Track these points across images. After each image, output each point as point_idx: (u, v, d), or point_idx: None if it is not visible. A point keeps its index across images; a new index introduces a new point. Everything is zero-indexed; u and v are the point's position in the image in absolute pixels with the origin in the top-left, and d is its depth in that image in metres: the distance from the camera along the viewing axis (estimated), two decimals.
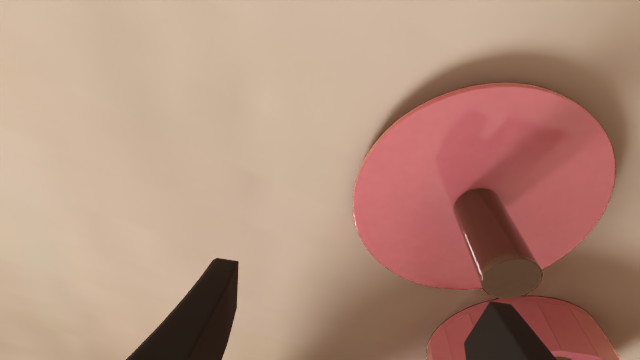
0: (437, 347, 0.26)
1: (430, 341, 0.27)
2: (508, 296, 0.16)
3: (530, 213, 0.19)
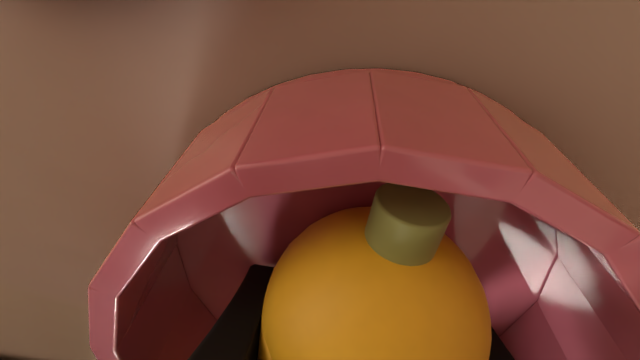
0: None
1: None
2: None
3: None
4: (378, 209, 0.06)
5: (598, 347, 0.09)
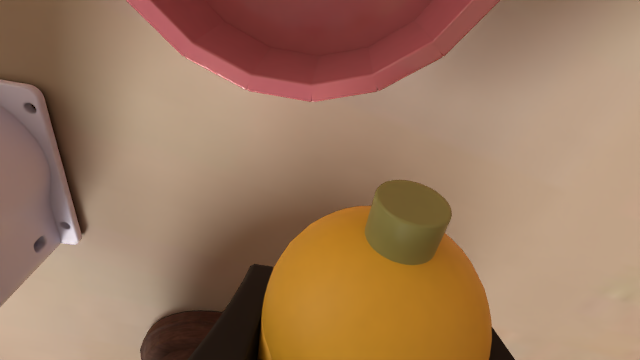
0: None
1: None
2: None
3: None
4: (378, 208, 0.06)
5: None
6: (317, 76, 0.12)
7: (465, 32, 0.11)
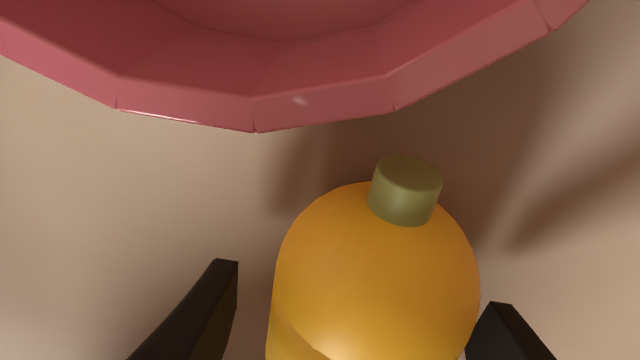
0: None
1: None
2: None
3: None
4: (379, 177, 0.07)
5: None
6: (269, 80, 0.06)
7: None
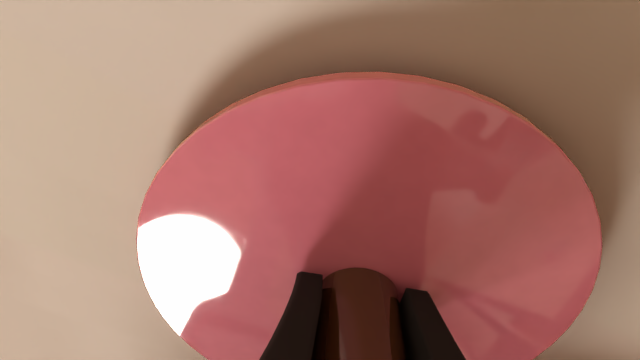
0: None
1: None
2: None
3: (452, 307, 0.11)
4: None
5: None
6: None
7: None
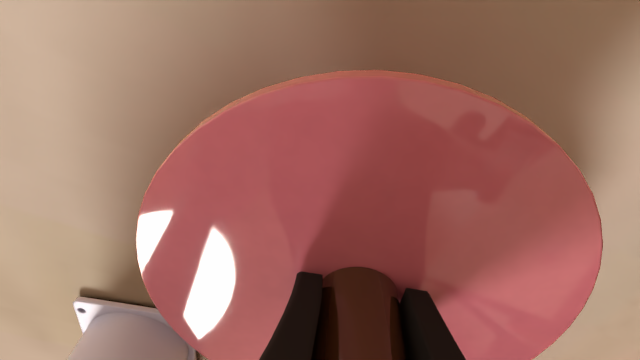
0: None
1: None
2: None
3: (452, 306, 0.11)
4: None
5: None
6: None
7: None
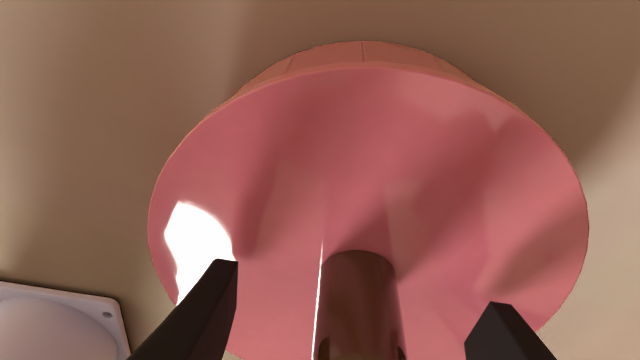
0: None
1: None
2: None
3: (448, 289, 0.11)
4: None
5: None
6: None
7: None
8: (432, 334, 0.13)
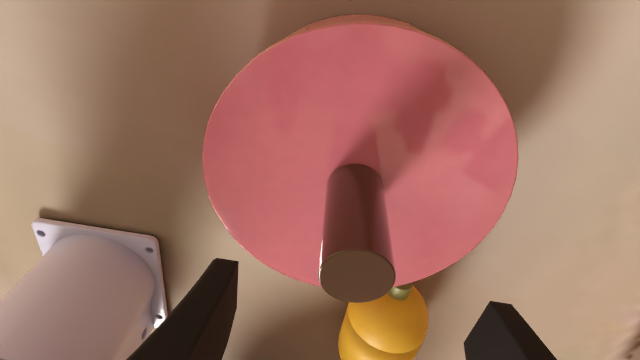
0: None
1: None
2: (359, 300, 0.12)
3: (421, 196, 0.16)
4: None
5: None
6: None
7: None
8: (411, 237, 0.17)
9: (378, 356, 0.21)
